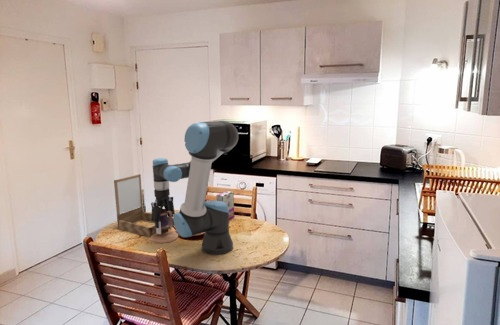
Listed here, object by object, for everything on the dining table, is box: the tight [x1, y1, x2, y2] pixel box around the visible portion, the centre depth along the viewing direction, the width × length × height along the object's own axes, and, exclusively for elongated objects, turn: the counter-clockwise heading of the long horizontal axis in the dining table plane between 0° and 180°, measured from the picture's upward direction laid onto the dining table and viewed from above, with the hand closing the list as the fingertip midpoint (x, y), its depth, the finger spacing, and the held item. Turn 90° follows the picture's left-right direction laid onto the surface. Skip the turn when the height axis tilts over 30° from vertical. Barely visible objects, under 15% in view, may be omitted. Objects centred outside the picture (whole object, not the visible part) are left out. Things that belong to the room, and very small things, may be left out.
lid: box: [113, 174, 143, 216], centre depth 203 cm, size 1×18×20 cm, turn 149°
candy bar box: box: [216, 190, 235, 221], centre depth 210 cm, size 11×5×16 cm, turn 147°
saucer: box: [150, 230, 179, 244], centre depth 184 cm, size 14×14×1 cm
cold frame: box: [116, 188, 175, 238], centre depth 198 cm, size 26×18×19 cm
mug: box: [155, 208, 173, 234], centre depth 183 cm, size 10×7×12 cm
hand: (164, 231), depth 184 cm, fingers closed on mug, 7 cm apart
